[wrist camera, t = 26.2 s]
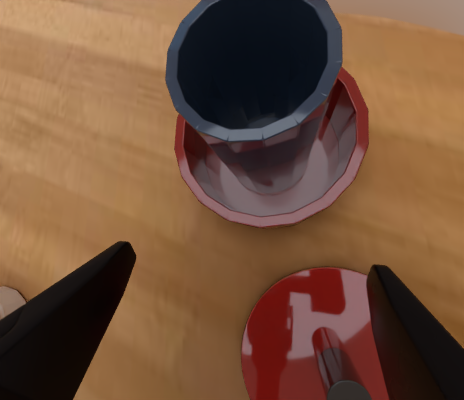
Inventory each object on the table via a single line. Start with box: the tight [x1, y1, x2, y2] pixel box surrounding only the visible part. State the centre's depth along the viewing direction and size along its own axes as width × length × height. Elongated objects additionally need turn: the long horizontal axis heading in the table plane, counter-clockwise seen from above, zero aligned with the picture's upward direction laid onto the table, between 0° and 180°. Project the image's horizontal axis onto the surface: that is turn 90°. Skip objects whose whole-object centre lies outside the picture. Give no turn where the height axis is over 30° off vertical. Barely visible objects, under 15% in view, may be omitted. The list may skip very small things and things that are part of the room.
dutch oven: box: [174, 67, 369, 229], centre depth 19 cm, size 12×13×6 cm
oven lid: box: [241, 267, 389, 400], centre depth 16 cm, size 13×13×5 cm
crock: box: [165, 0, 343, 193], centre depth 15 cm, size 7×7×12 cm
